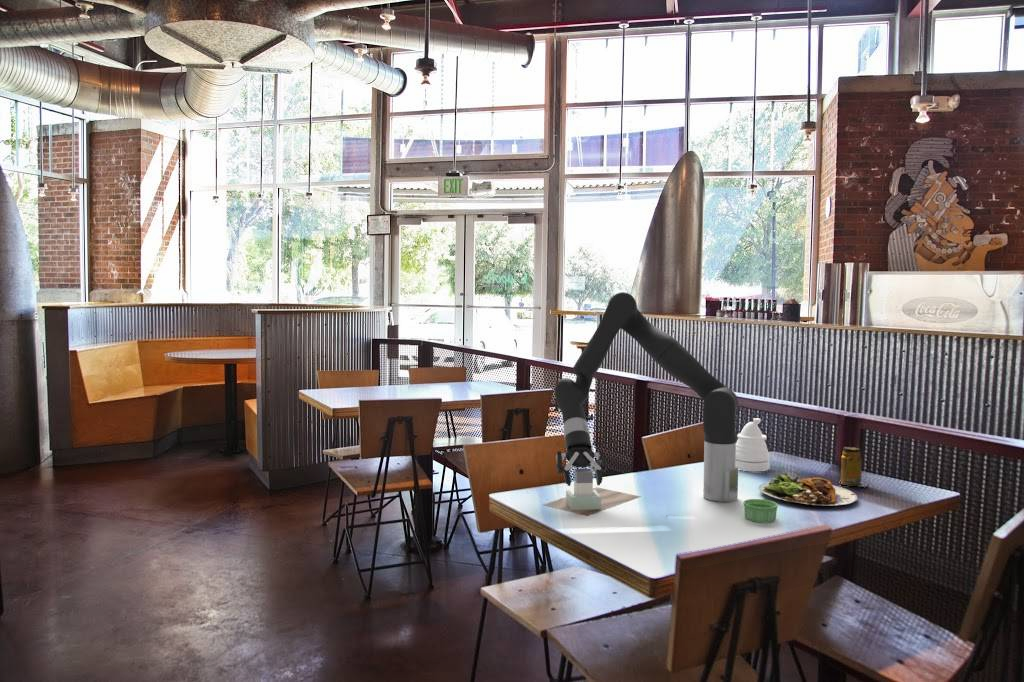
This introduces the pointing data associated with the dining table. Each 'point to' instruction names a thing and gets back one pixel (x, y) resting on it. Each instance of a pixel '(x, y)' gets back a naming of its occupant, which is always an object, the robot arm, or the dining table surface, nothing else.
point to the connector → (583, 482)
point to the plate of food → (807, 491)
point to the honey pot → (752, 448)
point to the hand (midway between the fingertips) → (584, 484)
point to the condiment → (851, 466)
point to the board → (607, 501)
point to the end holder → (583, 501)
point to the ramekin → (760, 510)
